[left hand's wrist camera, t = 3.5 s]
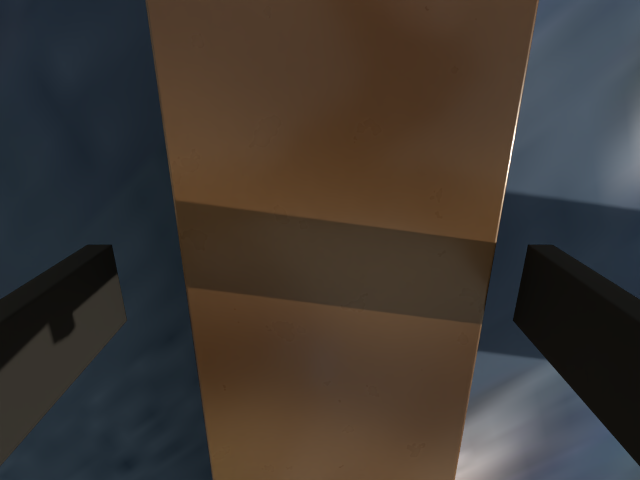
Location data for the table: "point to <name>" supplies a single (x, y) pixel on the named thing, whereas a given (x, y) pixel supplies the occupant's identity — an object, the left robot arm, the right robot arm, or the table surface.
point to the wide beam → (338, 220)
